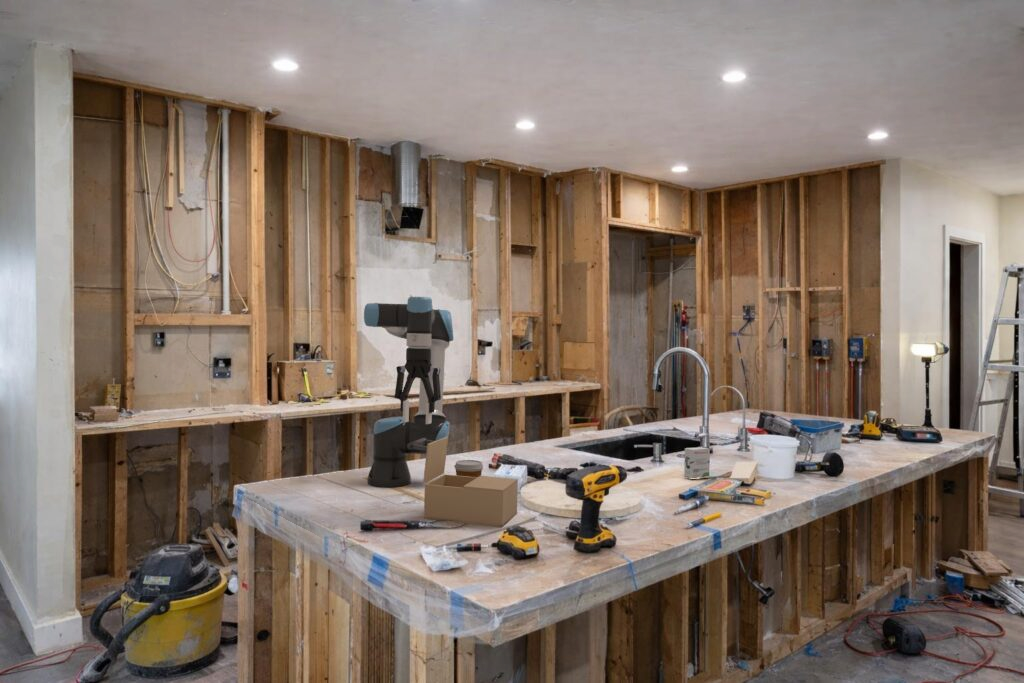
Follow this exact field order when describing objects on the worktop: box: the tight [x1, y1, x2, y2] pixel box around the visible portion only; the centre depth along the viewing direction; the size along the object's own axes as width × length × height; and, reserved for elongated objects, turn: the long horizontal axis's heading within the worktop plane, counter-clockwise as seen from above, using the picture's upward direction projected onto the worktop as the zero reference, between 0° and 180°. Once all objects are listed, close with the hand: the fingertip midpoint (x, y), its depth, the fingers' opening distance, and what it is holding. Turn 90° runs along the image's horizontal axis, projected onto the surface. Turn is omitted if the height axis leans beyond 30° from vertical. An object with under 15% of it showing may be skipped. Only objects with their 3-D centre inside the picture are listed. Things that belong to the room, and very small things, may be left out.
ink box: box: [683, 446, 711, 479], centre depth 264 cm, size 9×5×12 cm, turn 112°
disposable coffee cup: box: [454, 459, 484, 477], centre depth 224 cm, size 10×10×12 cm
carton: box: [423, 473, 519, 528], centre depth 204 cm, size 15×24×11 cm, turn 74°
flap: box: [407, 437, 449, 484], centre depth 208 cm, size 15×12×8 cm
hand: (417, 422), depth 209 cm, fingers open, 7 cm apart
